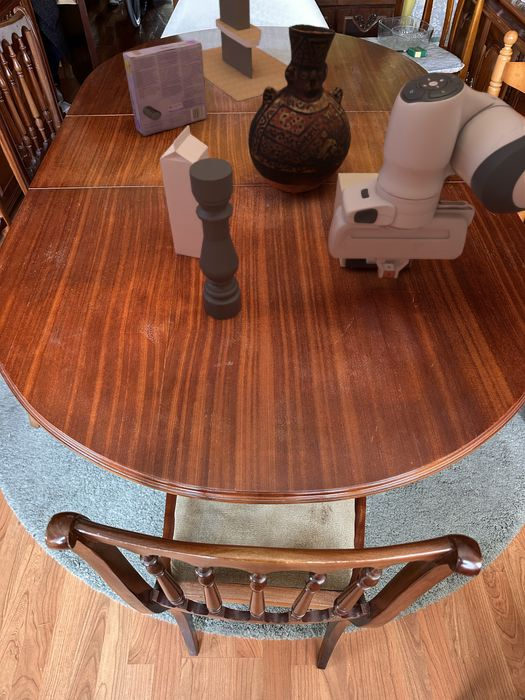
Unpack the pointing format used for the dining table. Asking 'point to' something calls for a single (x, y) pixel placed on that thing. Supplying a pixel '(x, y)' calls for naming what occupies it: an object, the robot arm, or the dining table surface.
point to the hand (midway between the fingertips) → (387, 275)
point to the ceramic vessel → (301, 119)
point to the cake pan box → (166, 86)
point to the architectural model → (241, 56)
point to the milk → (183, 192)
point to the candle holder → (216, 236)
